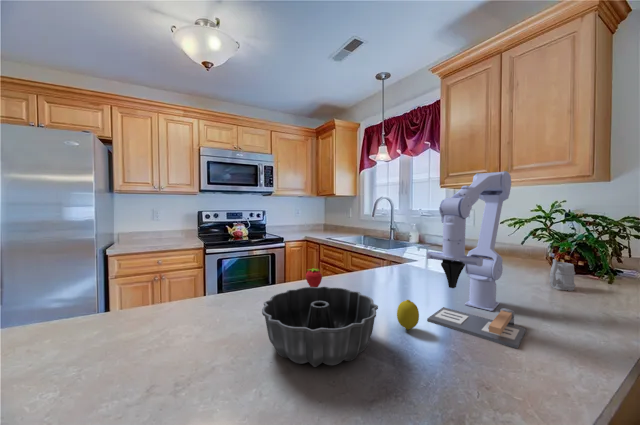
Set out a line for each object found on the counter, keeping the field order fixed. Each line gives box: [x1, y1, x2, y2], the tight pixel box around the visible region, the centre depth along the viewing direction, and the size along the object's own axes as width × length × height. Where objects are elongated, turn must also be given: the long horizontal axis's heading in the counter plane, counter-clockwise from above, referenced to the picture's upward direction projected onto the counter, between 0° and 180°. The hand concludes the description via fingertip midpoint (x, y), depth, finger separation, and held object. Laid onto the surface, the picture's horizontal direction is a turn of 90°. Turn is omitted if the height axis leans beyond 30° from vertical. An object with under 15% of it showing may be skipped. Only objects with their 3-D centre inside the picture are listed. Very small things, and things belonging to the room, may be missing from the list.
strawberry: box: [305, 264, 323, 287], centre depth 105 cm, size 6×8×10 cm
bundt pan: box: [261, 285, 379, 368], centre depth 65 cm, size 26×26×10 cm
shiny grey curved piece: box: [508, 317, 515, 326], centre depth 78 cm, size 3×3×2 cm
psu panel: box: [426, 307, 527, 350], centre depth 76 cm, size 12×21×1 cm, turn 46°
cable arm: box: [489, 307, 515, 335], centre depth 73 cm, size 16×3×2 cm, turn 136°
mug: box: [549, 258, 576, 292], centre depth 111 cm, size 8×12×12 cm, turn 114°
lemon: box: [396, 299, 420, 331], centre depth 73 cm, size 6×6×8 cm
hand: (452, 287), depth 80 cm, fingers closed
